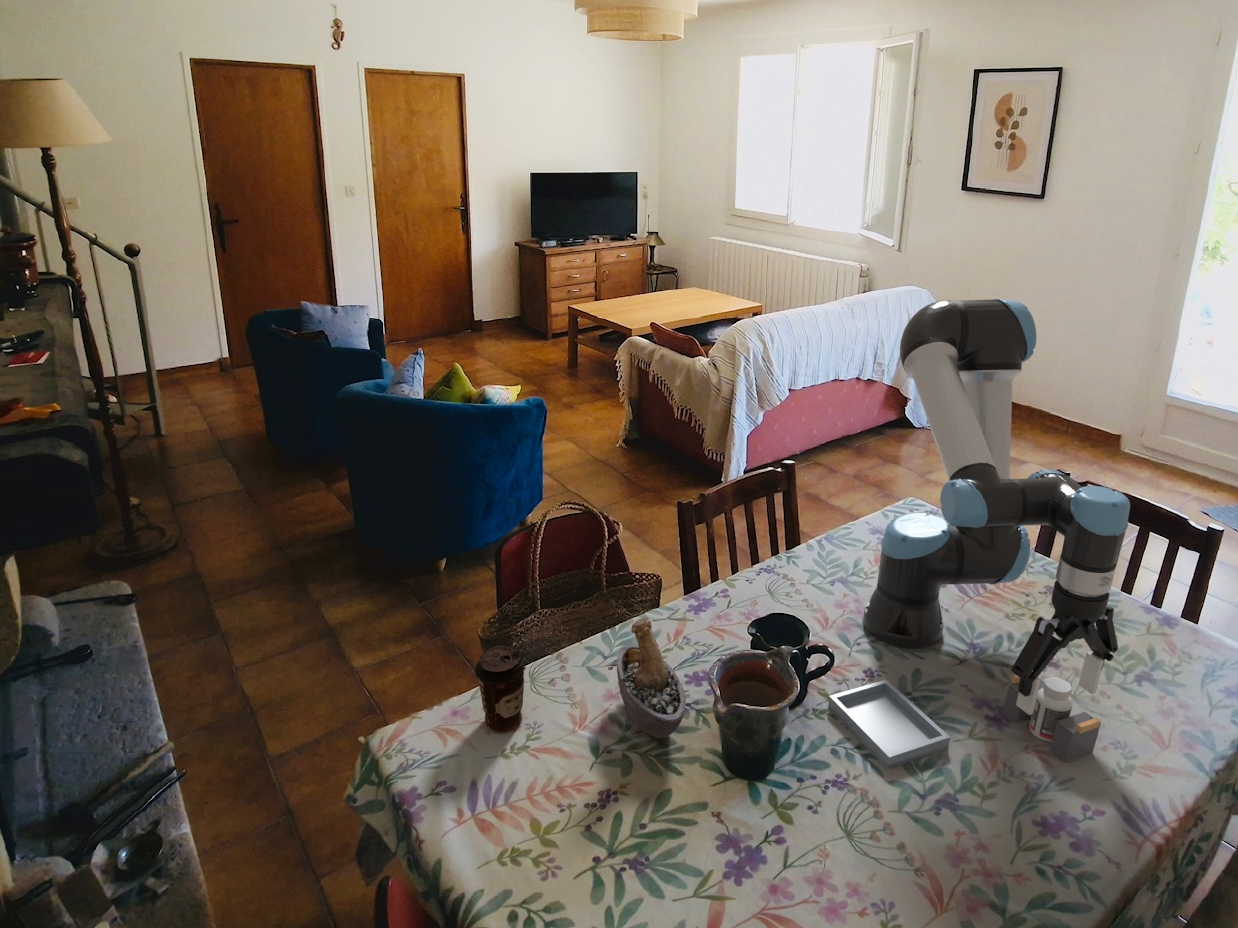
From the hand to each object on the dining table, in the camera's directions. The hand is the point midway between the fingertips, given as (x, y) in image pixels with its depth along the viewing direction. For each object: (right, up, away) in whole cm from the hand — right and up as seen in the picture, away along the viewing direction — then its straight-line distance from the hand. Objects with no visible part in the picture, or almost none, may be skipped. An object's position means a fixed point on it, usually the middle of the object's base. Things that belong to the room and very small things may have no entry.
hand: (1056, 699), depth 137 cm
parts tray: (-26, -6, +4) cm, 27 cm away
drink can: (-91, -6, +7) cm, 91 cm away
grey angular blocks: (0, -6, +3) cm, 7 cm away
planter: (-66, -6, +7) cm, 67 cm away
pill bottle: (0, -7, +3) cm, 7 cm away
